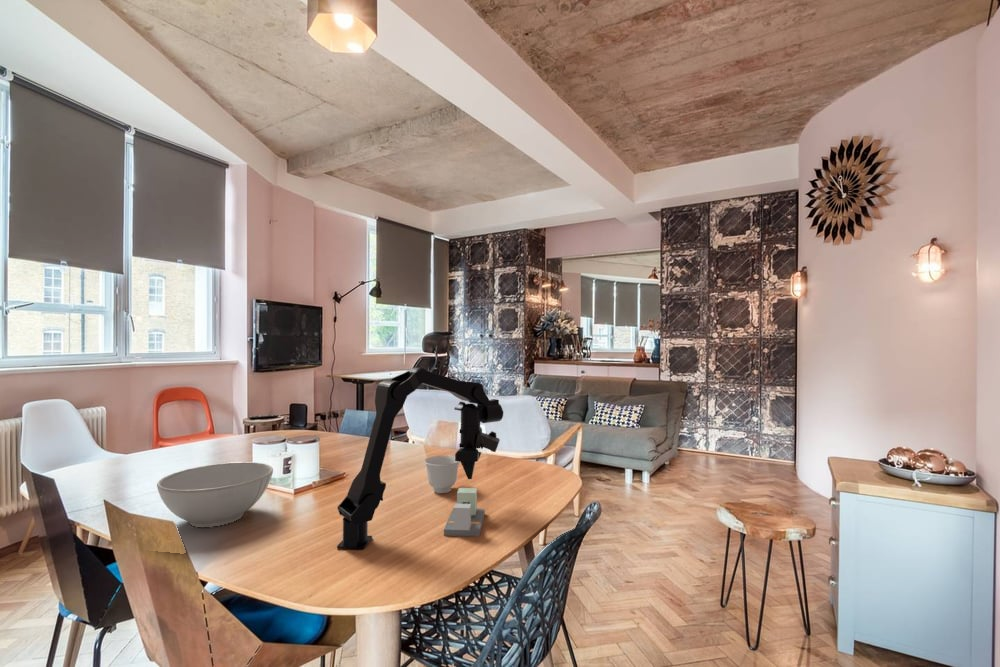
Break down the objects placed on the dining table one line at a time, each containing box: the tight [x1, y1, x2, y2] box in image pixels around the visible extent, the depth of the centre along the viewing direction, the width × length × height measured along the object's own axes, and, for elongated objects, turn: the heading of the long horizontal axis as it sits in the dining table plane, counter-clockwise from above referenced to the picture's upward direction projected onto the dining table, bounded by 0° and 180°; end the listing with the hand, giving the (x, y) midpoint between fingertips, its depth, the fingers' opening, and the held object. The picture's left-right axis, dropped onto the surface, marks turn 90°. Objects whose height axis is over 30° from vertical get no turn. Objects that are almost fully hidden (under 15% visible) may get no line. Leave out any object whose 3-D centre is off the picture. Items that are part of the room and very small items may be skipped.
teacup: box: [423, 454, 461, 494], centre depth 149 cm, size 12×15×10 cm
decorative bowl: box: [156, 461, 274, 528], centre depth 122 cm, size 27×27×12 cm
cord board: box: [443, 502, 486, 538], centre depth 120 cm, size 15×9×7 cm, turn 177°
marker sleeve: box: [456, 487, 478, 515], centre depth 123 cm, size 4×5×6 cm
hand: (469, 478), depth 130 cm, fingers closed
